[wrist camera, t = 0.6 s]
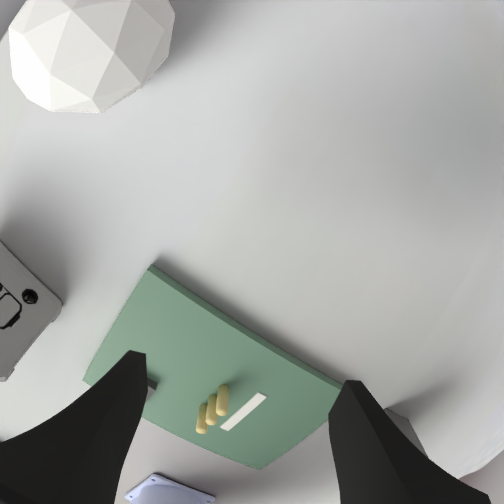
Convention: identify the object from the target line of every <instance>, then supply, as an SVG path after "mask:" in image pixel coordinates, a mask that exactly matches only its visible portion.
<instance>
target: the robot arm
mask: <svg viewBox="0 0 504 504" xmlns="http://www.w3.org/2000/svg"><path fill="white" fill-rule="evenodd" d="M147 393H148V382H147V364H146V353H141V352H137V351H132V350H129V351H127V352H126V353H125V354H124V355H123V356H122V358H121V359H120V360H119V361H118V362H117V363H116V364H115V365H114V366H113V367H112V368H111V369H110V370H109V371H108V372H107V373H106V374H105V375H104V376H103V377H102V378H101V379H99V380H98V381H97V382H96V383H95V384H94V385H93V386H92V387H91V388H90V389H89V390H87V391H86V392H85V393H84V394H83V395H81V396H80V397H79V398H78V399H76V400H75V401H74V402H73V403H71V404H70V405H69V406H67V407H66V408H65V409H63V410H62V411H60V412H59V413H58V414H56V415H55V416H53V417H51V418H50V419H48V420H46V421H45V422H43V423H41V424H40V425H38V426H36V427H34V428H33V429H31V430H29V431H27V432H24V433H22V434H20V435H18V436H16V437H13V438H11V439H9V440H6V441H4V442H1V443H0V504H114V502H115V496H116V492H117V487H118V483H119V478H120V474H121V470H122V467H123V464H124V461H125V458H126V455H127V453H128V450H129V447H130V445H131V442H132V440H133V437H134V434H135V432H136V429H137V427H138V424H139V421H140V419H141V416H142V413H143V409H144V405H145V401H146V397H147ZM328 420H329V436H330V442H331V447H332V452H333V457H334V462H335V467H336V472H337V478H338V483H339V489H340V501H341V504H491V502H490V499H489V496H488V495H487V494H485V493H483V492H481V491H479V490H477V489H474V488H472V487H470V486H468V485H467V484H465V483H463V482H461V481H460V480H458V479H456V478H455V477H453V476H452V475H450V474H449V473H447V472H446V471H444V470H443V469H442V468H440V467H439V466H438V465H436V464H435V463H434V462H432V461H431V460H430V459H429V458H428V457H427V456H425V455H424V454H423V453H422V452H421V451H420V450H419V449H418V448H417V447H416V446H415V445H414V444H413V443H412V442H411V441H410V440H409V439H408V438H407V437H406V436H405V435H404V434H403V433H402V432H401V431H400V429H399V428H398V427H397V426H396V425H395V424H394V422H393V421H392V420H391V419H390V418H389V416H388V415H387V414H386V413H385V411H384V410H383V409H382V408H381V406H380V405H379V404H378V402H377V401H376V400H375V398H374V397H373V396H372V395H371V393H370V392H369V391H368V389H367V388H366V387H365V386H364V384H363V383H362V382H361V381H354V380H346V381H345V383H344V385H343V387H342V389H341V391H340V393H339V395H338V397H337V398H336V400H335V402H334V404H333V406H332V408H331V410H330V412H329V413H328ZM125 499H127V500H129V501H131V503H130V504H211V503H212V502H214V501H216V498H215V497H214V496H211V495H208V494H205V493H202V492H199V491H197V490H194V489H191V488H189V487H186V486H183V485H181V484H178V483H176V482H173V481H171V480H169V479H166V478H164V477H162V476H159V475H157V474H153V475H151V476H150V477H148V478H147V479H146V480H145V481H143V482H142V483H141V484H139V485H138V486H137V487H135V488H134V489H133V490H131V491H130V492H128V493H127V494H126V495H125Z"/></svg>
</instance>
